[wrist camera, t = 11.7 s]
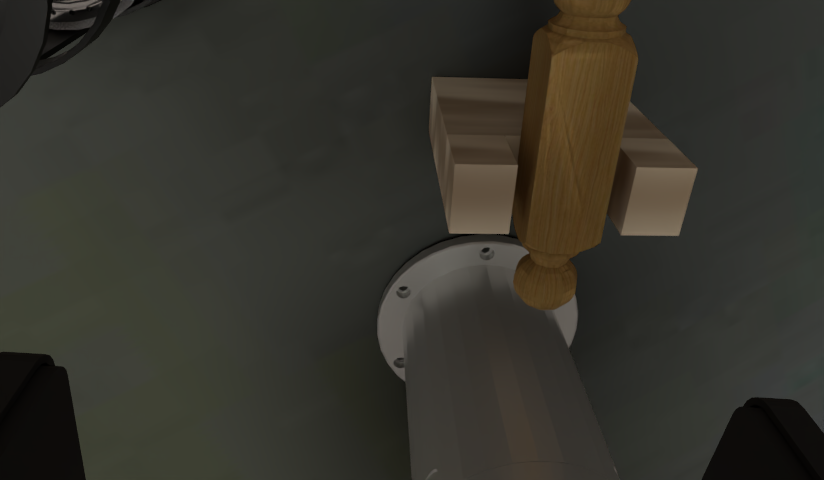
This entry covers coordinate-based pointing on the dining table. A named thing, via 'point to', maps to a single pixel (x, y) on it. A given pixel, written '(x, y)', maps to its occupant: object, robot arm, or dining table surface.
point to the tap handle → (569, 143)
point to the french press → (49, 34)
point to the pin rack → (498, 155)
